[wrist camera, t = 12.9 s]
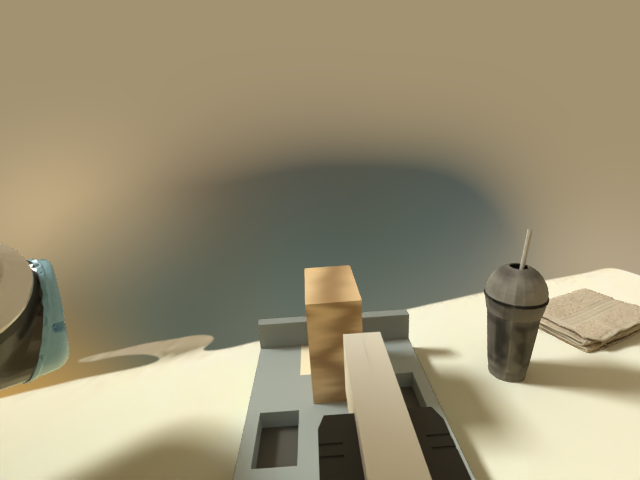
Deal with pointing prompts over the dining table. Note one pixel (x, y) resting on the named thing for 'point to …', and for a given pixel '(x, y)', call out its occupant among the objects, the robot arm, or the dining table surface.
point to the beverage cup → (513, 316)
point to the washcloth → (590, 319)
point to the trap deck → (297, 397)
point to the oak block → (330, 327)
